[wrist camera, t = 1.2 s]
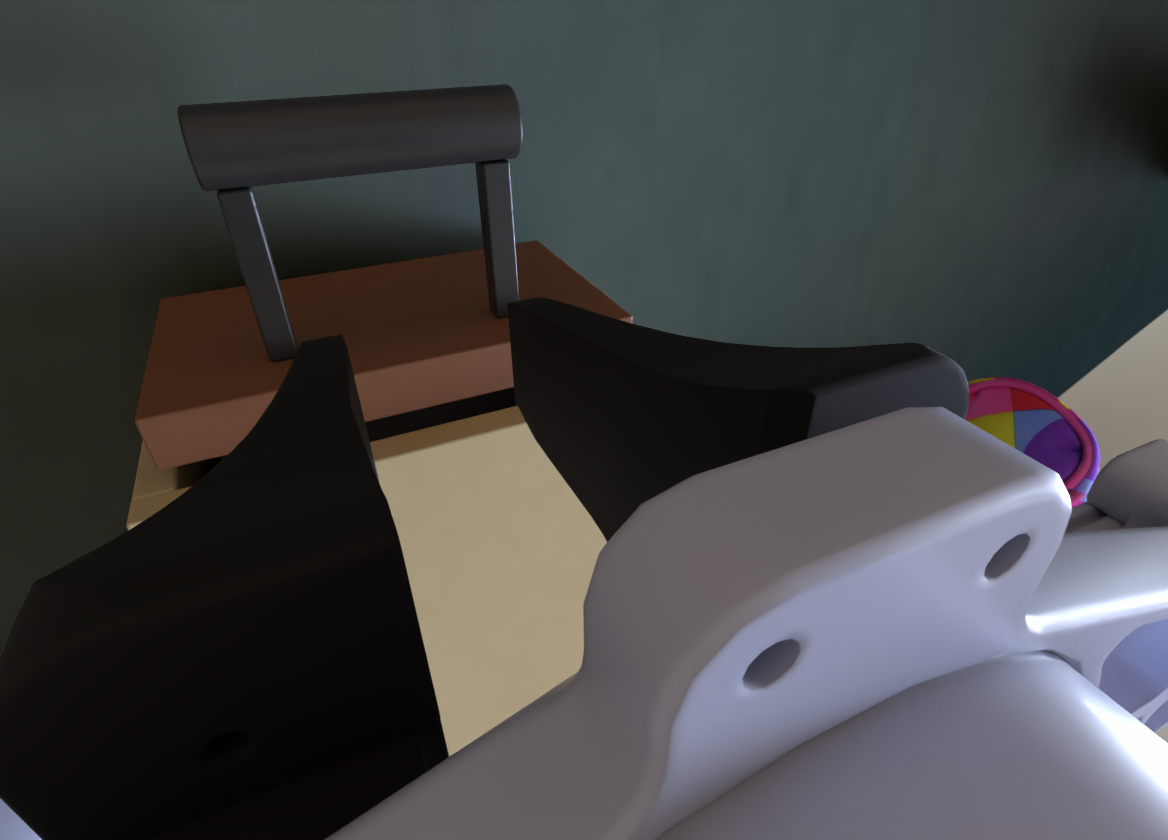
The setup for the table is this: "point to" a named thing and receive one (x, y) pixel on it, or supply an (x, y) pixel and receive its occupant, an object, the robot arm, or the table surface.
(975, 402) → the pencil case
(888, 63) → the table surface
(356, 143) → the drawer
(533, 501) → the wooden drawer cabinet
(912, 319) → the table surface
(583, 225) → the table surface
